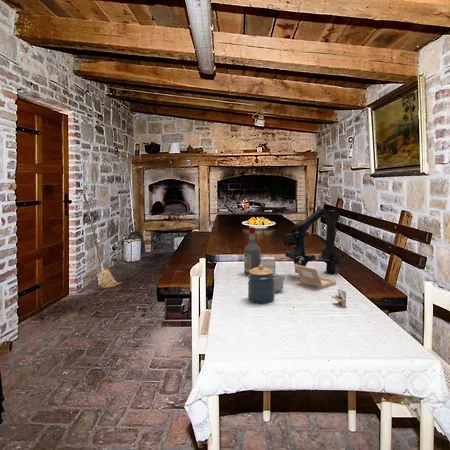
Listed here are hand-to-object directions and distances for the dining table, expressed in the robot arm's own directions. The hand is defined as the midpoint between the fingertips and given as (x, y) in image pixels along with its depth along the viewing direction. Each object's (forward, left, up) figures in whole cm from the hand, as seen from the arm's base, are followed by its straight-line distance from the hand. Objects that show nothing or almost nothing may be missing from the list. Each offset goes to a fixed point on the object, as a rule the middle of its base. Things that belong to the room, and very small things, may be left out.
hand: (299, 270), depth 204 cm
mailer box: (+1, +14, -5) cm, 15 cm away
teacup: (+28, +7, -5) cm, 29 cm away
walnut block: (0, 0, -2) cm, 2 cm away
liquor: (+16, -25, -5) cm, 30 cm away
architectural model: (+22, +43, -6) cm, 48 cm away
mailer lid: (+10, +14, +2) cm, 17 cm away
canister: (+44, +13, -5) cm, 46 cm away
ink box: (+12, -15, -5) cm, 20 cm away
